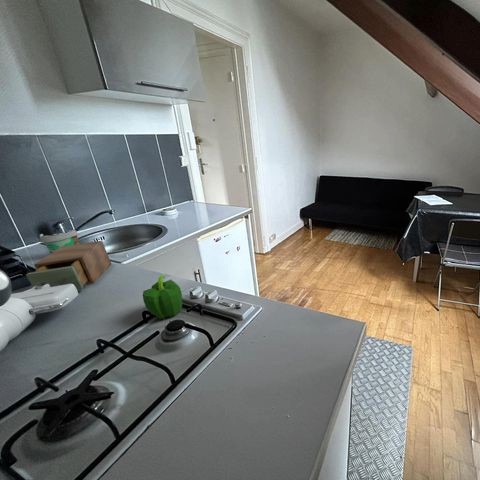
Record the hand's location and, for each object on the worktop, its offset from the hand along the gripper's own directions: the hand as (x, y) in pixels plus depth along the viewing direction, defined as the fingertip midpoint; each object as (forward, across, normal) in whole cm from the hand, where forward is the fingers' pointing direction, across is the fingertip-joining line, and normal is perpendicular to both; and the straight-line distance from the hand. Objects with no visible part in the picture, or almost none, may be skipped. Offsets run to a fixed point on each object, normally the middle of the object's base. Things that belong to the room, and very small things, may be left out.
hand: (43, 287), depth 72 cm
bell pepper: (-18, -34, +6) cm, 39 cm away
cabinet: (+17, 0, +6) cm, 18 cm away
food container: (+41, +16, +6) cm, 45 cm away
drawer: (+9, 0, +5) cm, 10 cm away
